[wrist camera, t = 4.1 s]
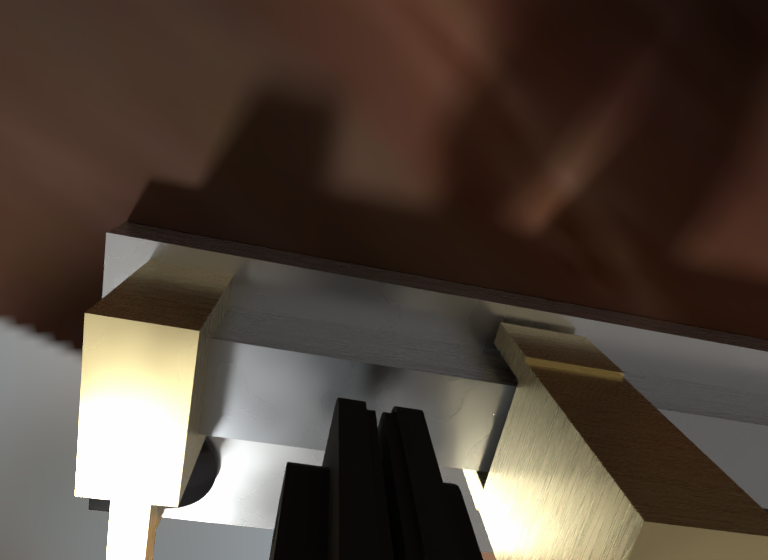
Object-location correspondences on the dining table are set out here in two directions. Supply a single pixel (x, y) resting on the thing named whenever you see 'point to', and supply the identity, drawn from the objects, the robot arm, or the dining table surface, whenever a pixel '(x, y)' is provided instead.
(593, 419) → the sliding jaw
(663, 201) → the dining table surface
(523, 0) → the dining table surface
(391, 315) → the board
